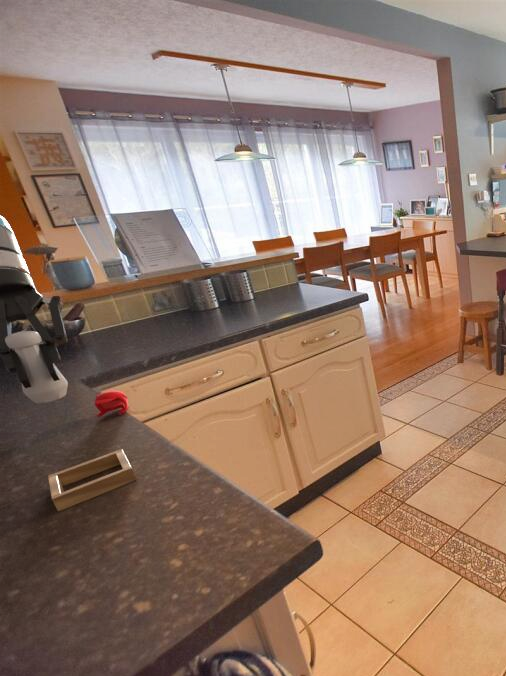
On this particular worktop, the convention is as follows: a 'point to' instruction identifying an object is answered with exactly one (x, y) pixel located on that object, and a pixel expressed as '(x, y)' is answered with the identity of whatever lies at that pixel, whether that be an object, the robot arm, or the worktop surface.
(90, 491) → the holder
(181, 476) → the worktop surface
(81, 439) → the worktop surface
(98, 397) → the cap
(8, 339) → the salt shaker
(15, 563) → the worktop surface
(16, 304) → the robot arm
